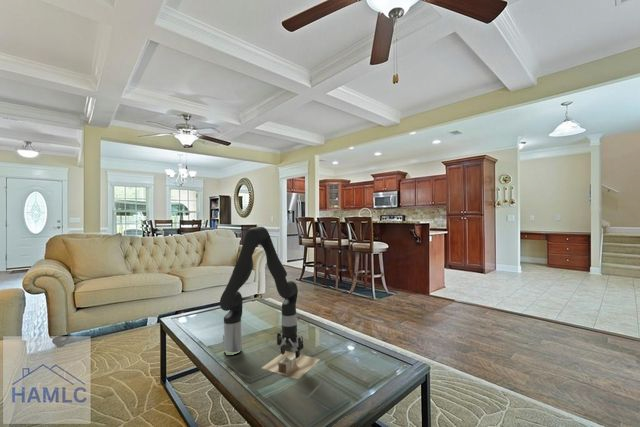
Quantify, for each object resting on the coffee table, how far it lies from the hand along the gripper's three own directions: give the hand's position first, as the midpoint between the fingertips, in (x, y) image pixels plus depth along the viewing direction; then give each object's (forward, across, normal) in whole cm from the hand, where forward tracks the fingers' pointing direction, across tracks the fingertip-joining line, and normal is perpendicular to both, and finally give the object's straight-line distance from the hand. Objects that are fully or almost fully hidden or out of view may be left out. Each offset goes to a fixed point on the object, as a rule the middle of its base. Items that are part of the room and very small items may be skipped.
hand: (290, 355), depth 142 cm
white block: (+3, 0, +2) cm, 4 cm away
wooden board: (+6, -1, +2) cm, 6 cm away
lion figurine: (+6, -16, +20) cm, 26 cm away
